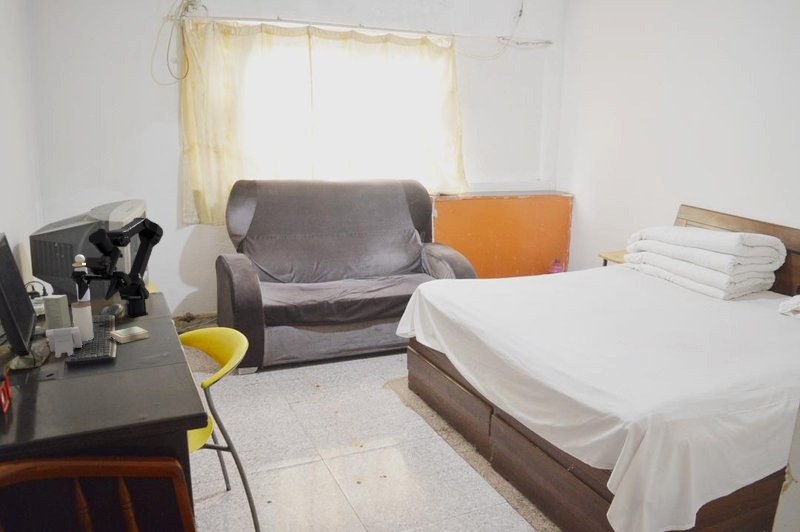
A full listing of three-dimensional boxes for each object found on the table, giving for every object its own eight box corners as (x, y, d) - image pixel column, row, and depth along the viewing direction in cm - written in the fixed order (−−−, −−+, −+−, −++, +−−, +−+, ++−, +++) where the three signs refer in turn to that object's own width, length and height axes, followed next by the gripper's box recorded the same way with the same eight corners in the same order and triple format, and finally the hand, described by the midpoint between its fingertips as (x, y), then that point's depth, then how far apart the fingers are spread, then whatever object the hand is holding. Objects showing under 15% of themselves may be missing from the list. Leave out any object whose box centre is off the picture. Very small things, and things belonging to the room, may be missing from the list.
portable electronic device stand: (82, 347, 187) (80, 322, 186) (80, 355, 180) (77, 328, 179) (51, 351, 184) (48, 325, 182) (48, 358, 177) (44, 332, 175)
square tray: (137, 331, 203) (137, 325, 203) (149, 337, 197) (148, 330, 197) (110, 337, 197) (109, 331, 196) (121, 343, 191) (121, 336, 190)
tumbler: (90, 338, 196) (86, 300, 194) (97, 341, 193) (93, 303, 190) (72, 342, 192) (68, 303, 190) (79, 345, 189) (74, 306, 186)
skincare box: (71, 328, 208) (68, 294, 205) (63, 332, 203) (59, 297, 201) (54, 327, 208) (51, 294, 206) (46, 331, 204) (42, 297, 202)
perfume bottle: (95, 301, 246) (90, 253, 243) (83, 304, 241) (78, 255, 237) (85, 299, 249) (80, 252, 245) (73, 302, 243) (68, 255, 240)
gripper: (70, 247, 199) (53, 286, 191) (123, 247, 198) (108, 286, 189) (86, 265, 209) (70, 303, 200) (137, 266, 207) (123, 304, 198)
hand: (92, 299), depth 197 cm, fingers open, 9 cm apart
